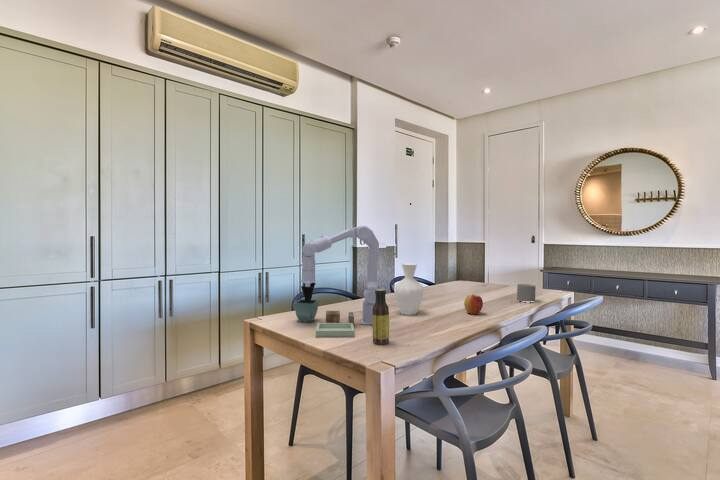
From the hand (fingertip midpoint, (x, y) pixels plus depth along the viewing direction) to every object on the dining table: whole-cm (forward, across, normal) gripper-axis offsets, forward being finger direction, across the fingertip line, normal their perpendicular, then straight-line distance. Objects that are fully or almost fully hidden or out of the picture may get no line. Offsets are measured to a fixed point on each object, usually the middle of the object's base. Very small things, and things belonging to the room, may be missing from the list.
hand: (308, 300), depth 165 cm
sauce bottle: (+10, +29, +29) cm, 42 cm away
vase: (+10, -18, +49) cm, 53 cm away
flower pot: (+10, -4, -1) cm, 11 cm away
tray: (+10, +16, +12) cm, 22 cm away
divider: (+10, +5, +19) cm, 22 cm away
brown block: (+10, +5, +11) cm, 16 cm away
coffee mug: (+10, -49, +128) cm, 137 cm away
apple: (+10, -17, +82) cm, 84 cm away
